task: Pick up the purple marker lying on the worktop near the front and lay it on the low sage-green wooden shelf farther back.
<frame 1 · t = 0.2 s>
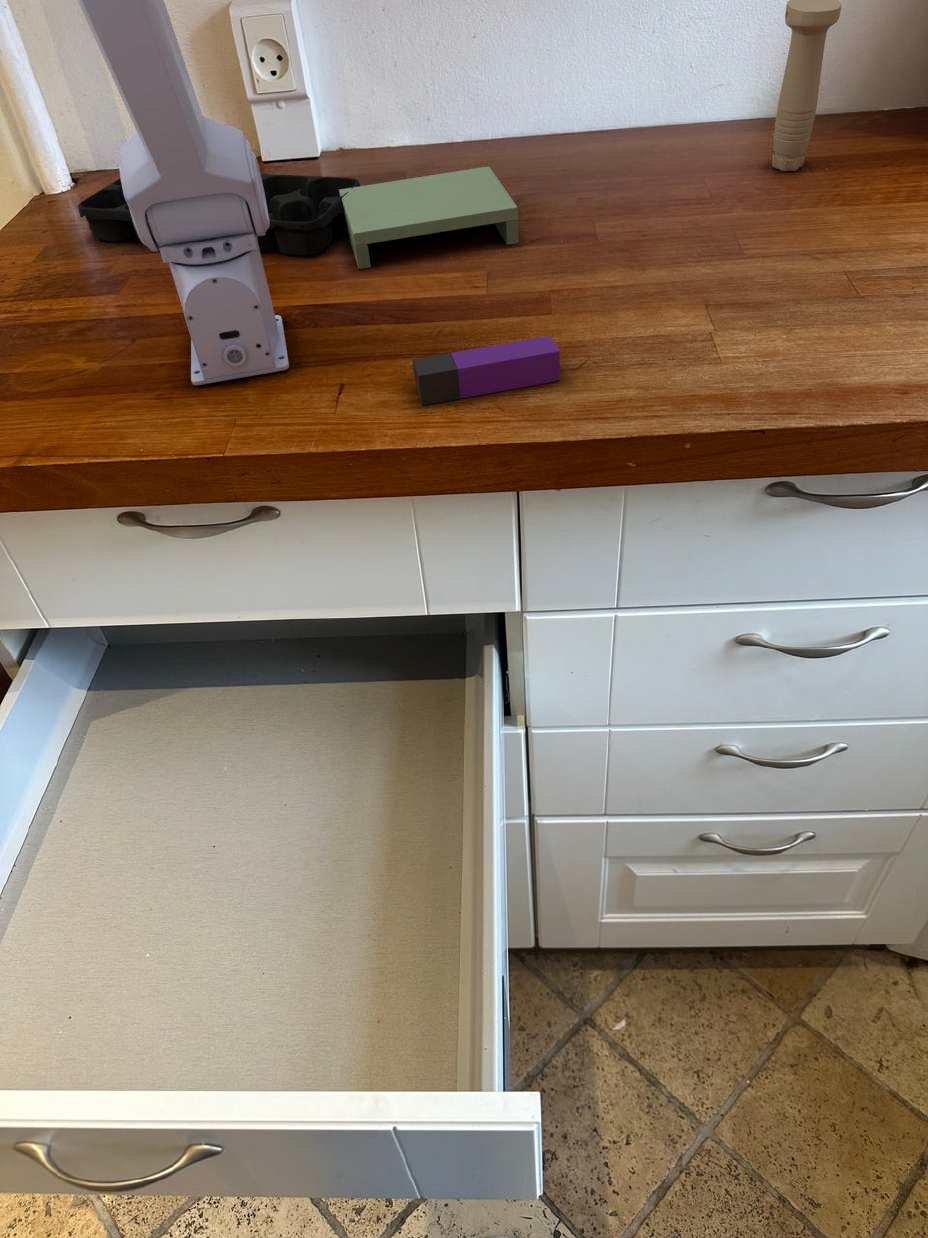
egg carton: (226, 229, 99), on the table, touching shelf
marker: (487, 385, 72), on the table
shelf: (428, 232, 94), on the table
handle: (786, 169, 99), on the table
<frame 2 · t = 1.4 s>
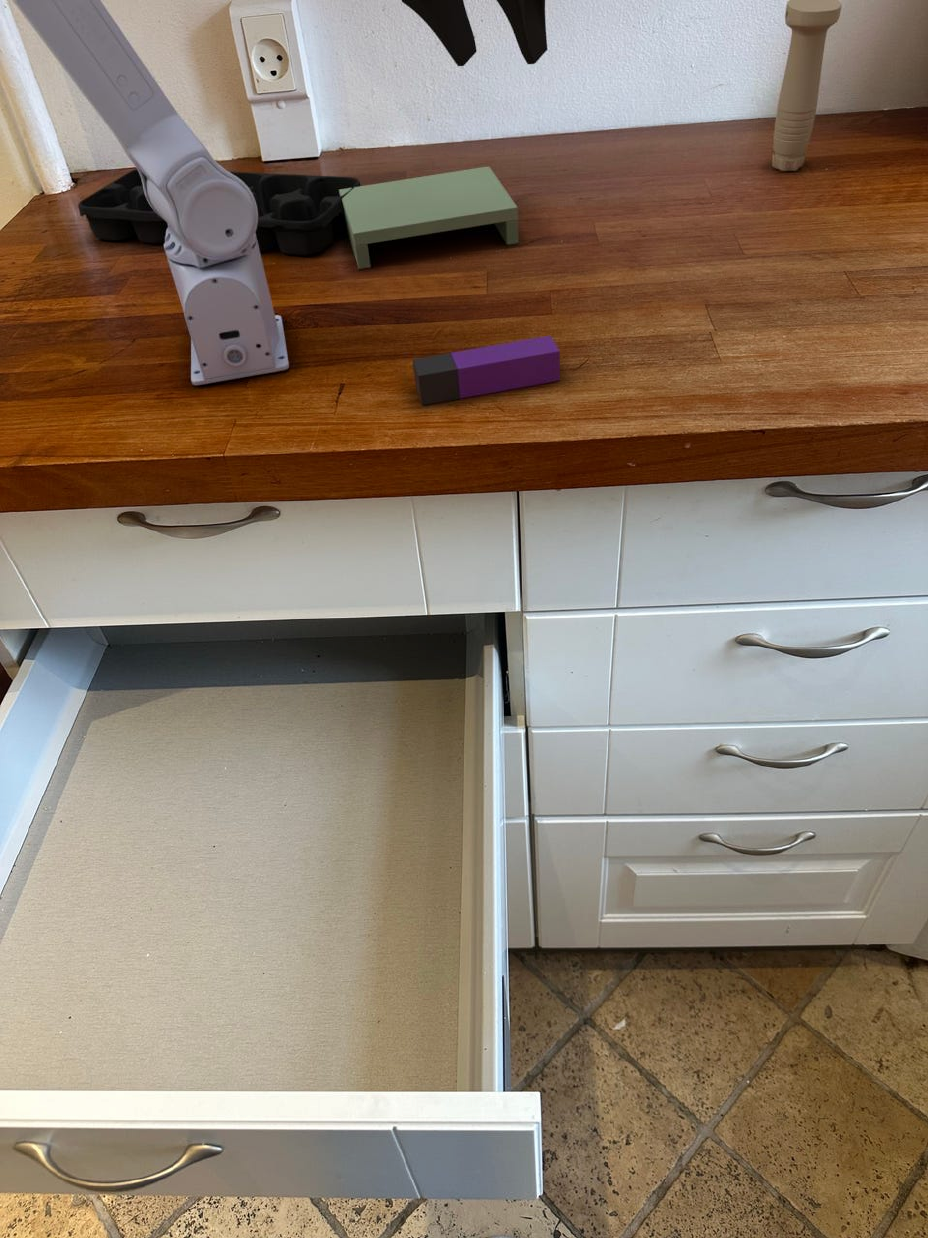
hand: (501, 57, 75), 17 cm above the table, tool tilted 20°, fingers open, 7 cm apart
egg carton: (227, 228, 99), on the table, touching shelf
everything else where it was.
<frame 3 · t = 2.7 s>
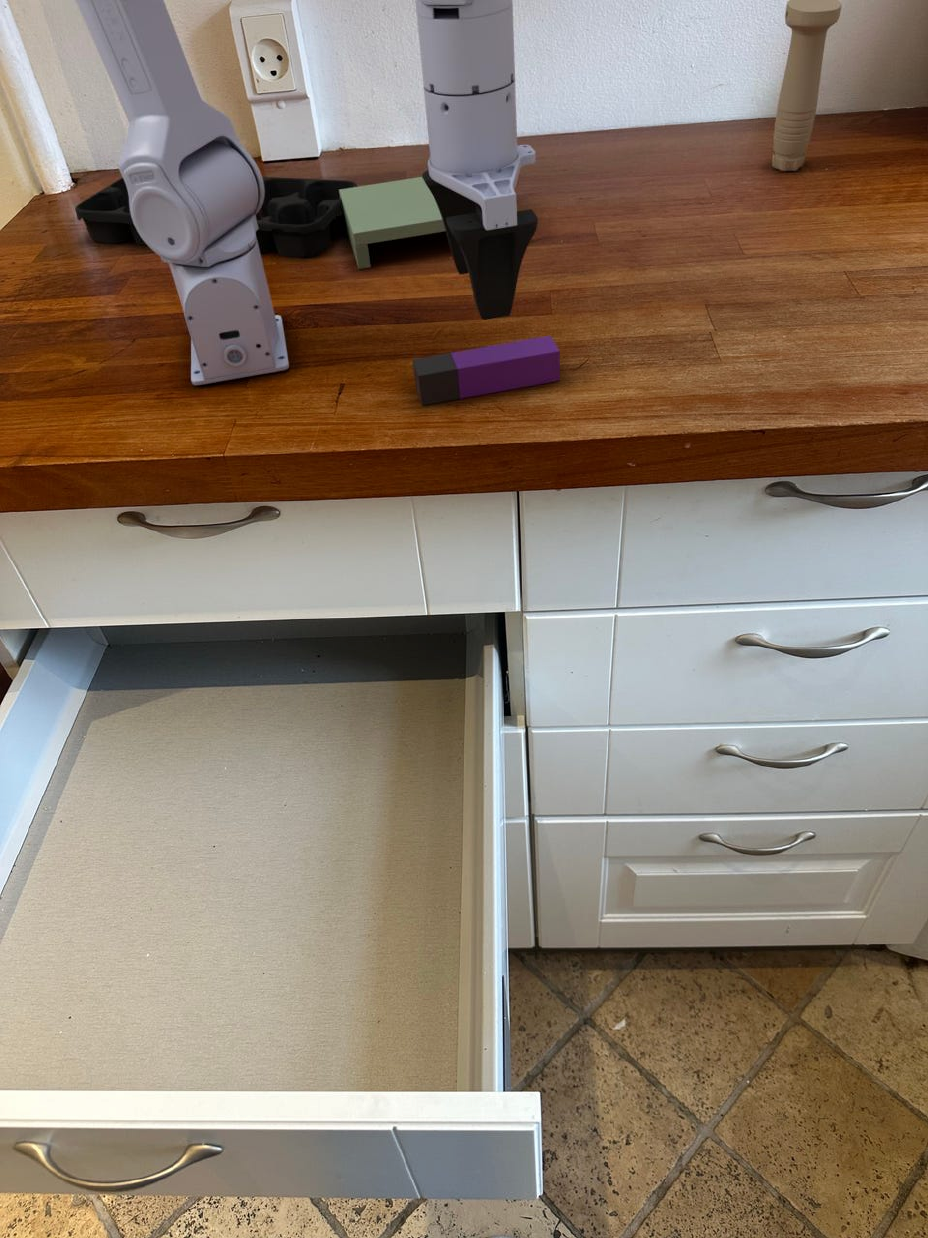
hand: (482, 292, 66), 8 cm above the table, tool pointing down, fingers open, 7 cm apart
egg carton: (224, 231, 99), on the table, touching shelf
everything else where it was.
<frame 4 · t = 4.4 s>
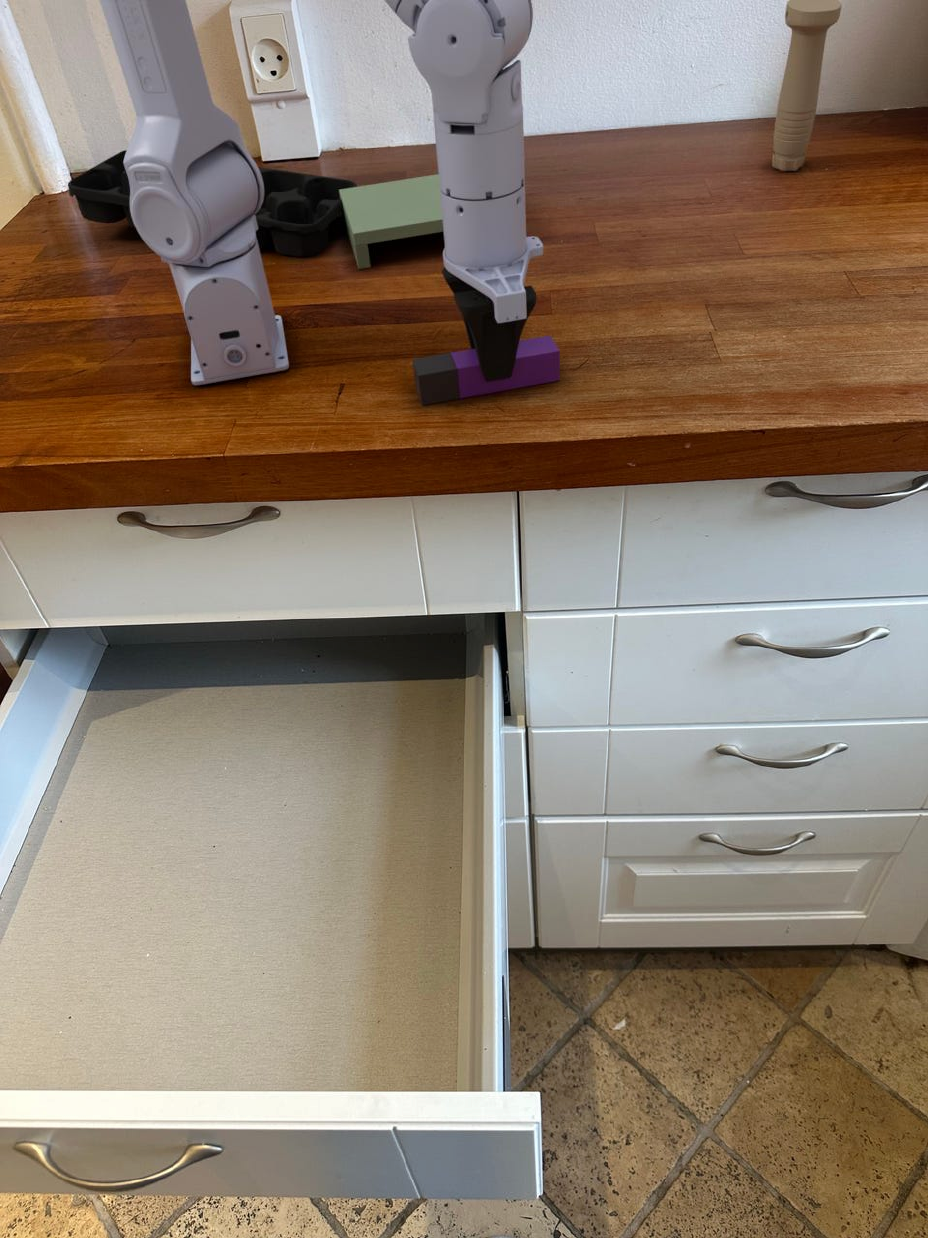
hand: (492, 367, 71), 1 cm above the table, tool pointing down, fingers closed on marker, 2 cm apart
egg carton: (219, 220, 98), point 1 cm above the table, touching shelf
marker: (487, 384, 72), on the table, touching gripper
everything else where it was.
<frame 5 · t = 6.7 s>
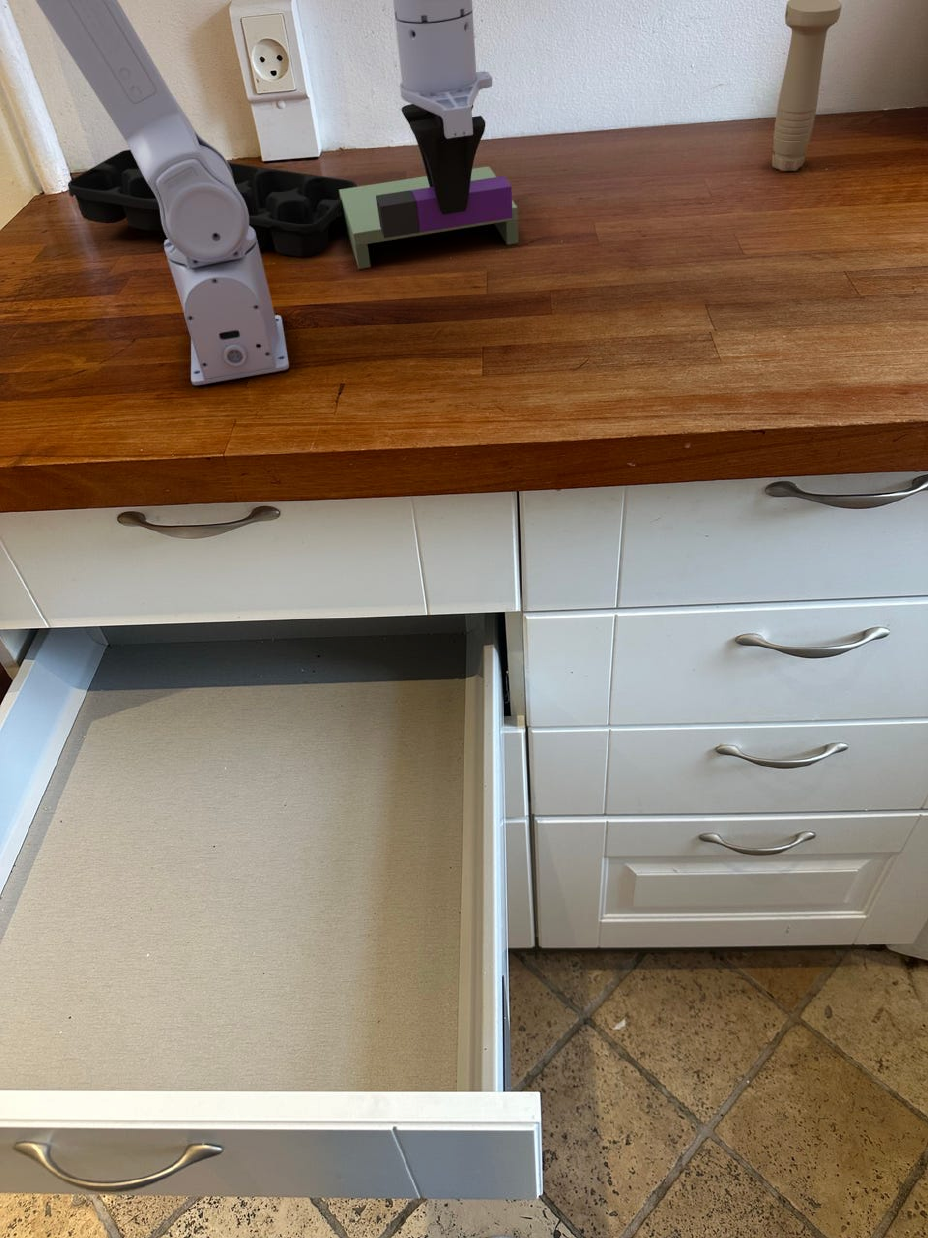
hand: (449, 204, 76), 8 cm above the table, tool pointing down, fingers closed on marker, 2 cm apart
marker: (446, 222, 77), point 7 cm above the table, touching gripper
everything else where it was.
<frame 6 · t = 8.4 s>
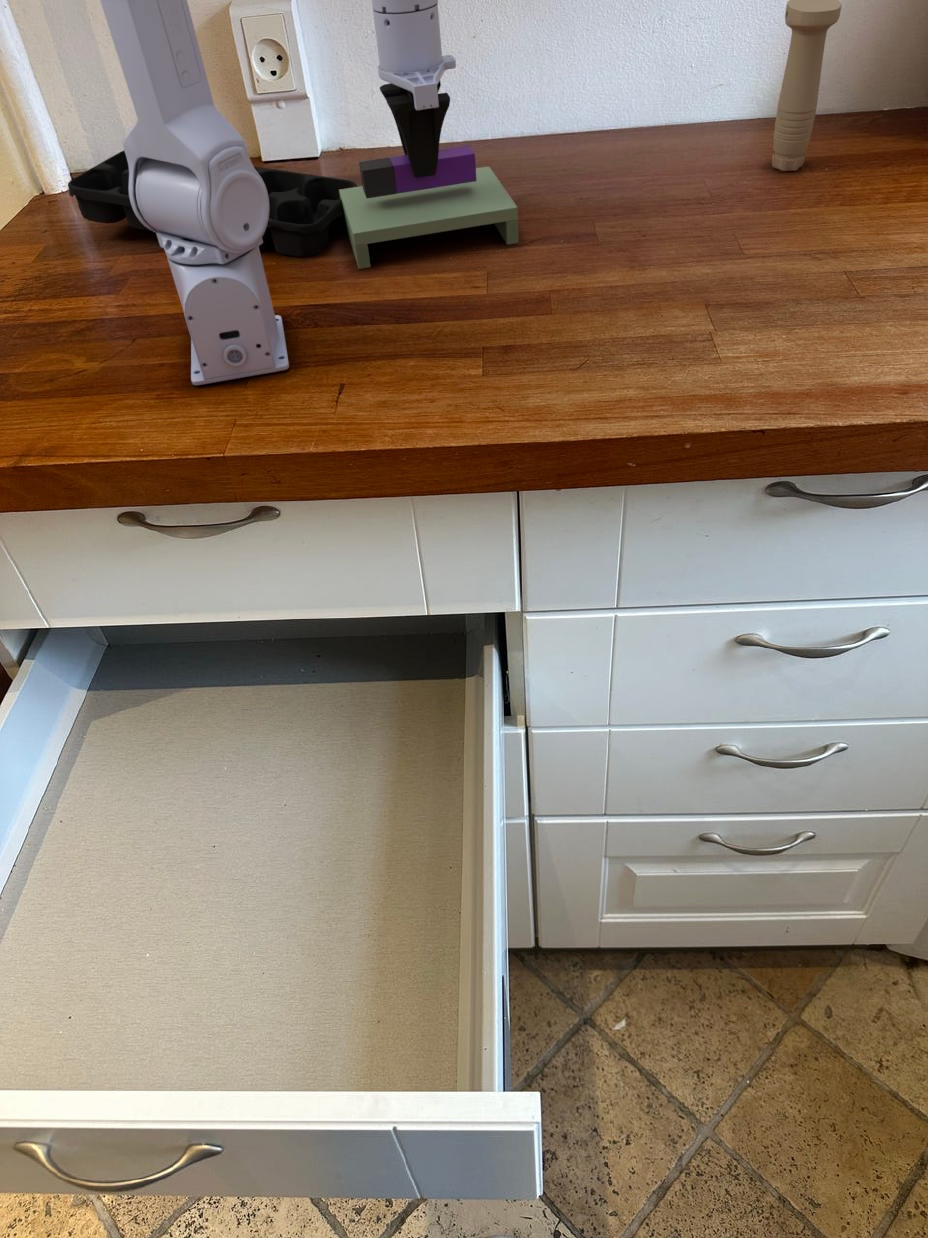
hand: (422, 169, 89), 6 cm above the table, tool pointing down, fingers closed on marker, 2 cm apart
marker: (419, 185, 90), point 5 cm above the table, touching gripper
everything else where it was.
when the fingers open (5 cm above the table, at t = 9.0 s): marker stays where it is, resting on shelf.
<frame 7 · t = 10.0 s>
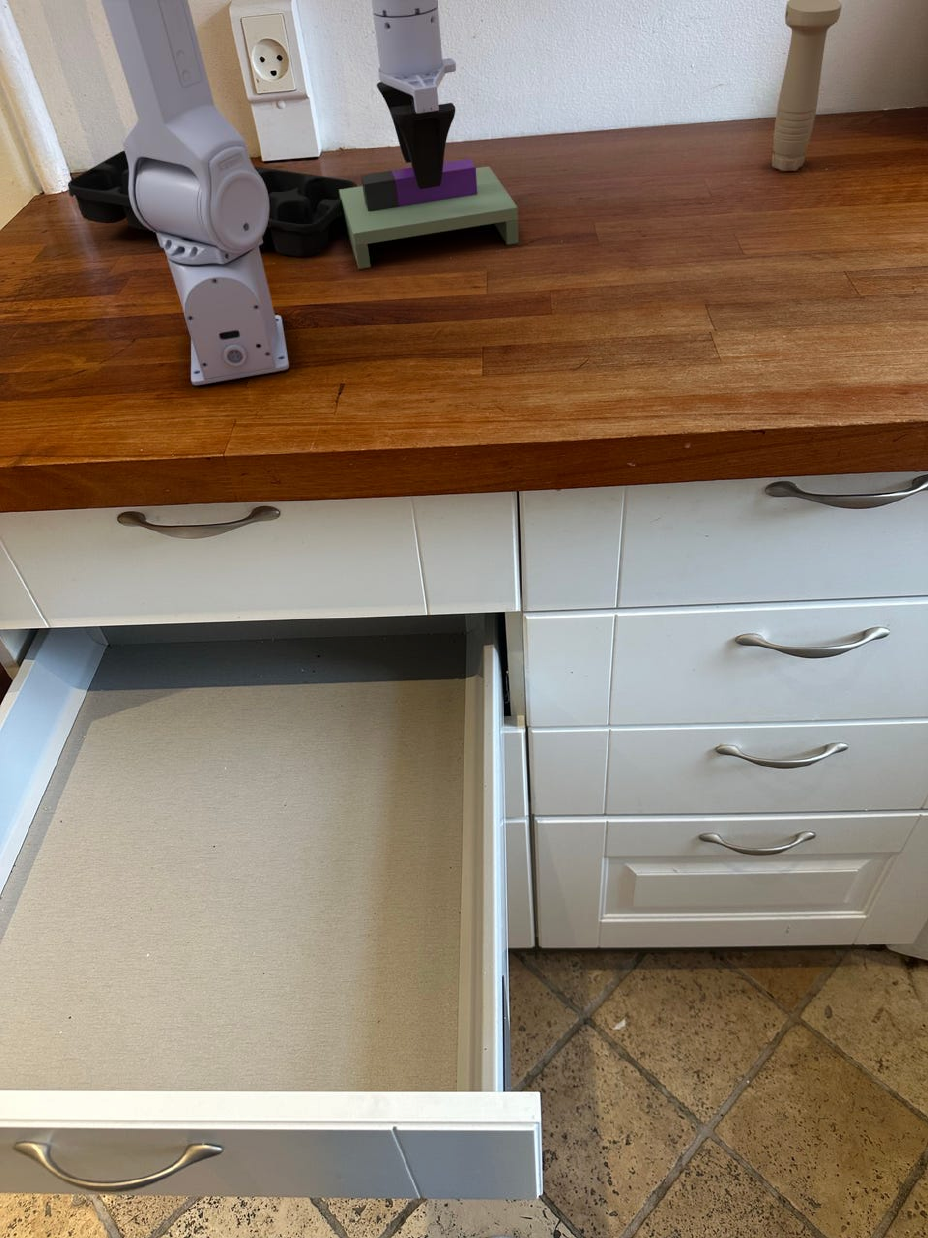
hand: (422, 172, 89), 6 cm above the table, tool pointing down, fingers open, 7 cm apart
marker: (421, 198, 91), point 3 cm above the table, touching shelf
everything else where it was.
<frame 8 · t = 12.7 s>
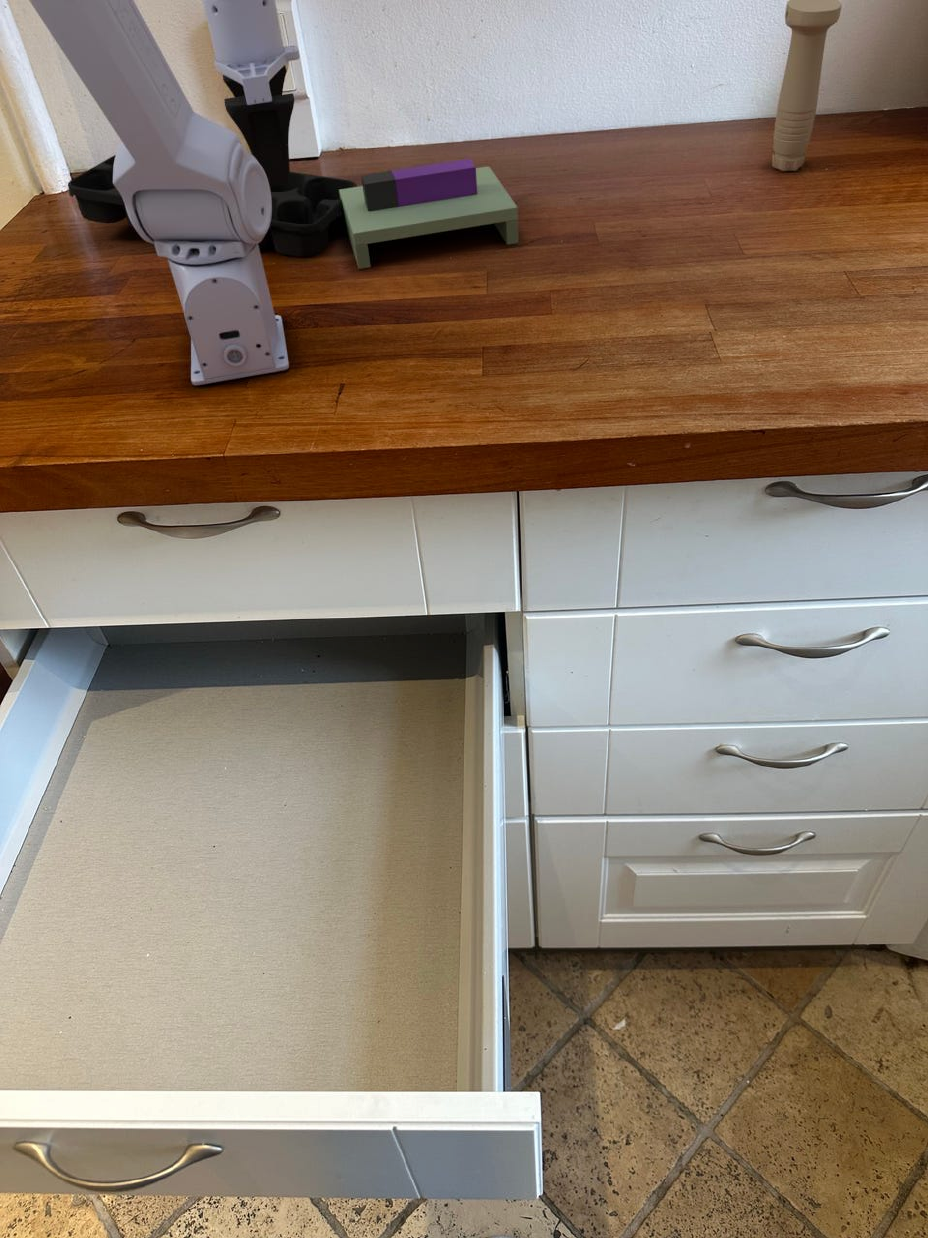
hand: (274, 169, 83), 9 cm above the table, tool pointing down, fingers open, 7 cm apart
nothing on the table moved.
at the end: marker inside the target area on the shelf (0.4 cm from its centre), point 3.5 cm above the shelf's base; the gripper is holding nothing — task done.
